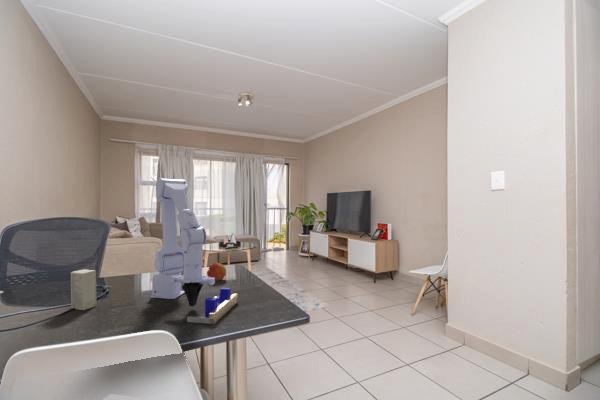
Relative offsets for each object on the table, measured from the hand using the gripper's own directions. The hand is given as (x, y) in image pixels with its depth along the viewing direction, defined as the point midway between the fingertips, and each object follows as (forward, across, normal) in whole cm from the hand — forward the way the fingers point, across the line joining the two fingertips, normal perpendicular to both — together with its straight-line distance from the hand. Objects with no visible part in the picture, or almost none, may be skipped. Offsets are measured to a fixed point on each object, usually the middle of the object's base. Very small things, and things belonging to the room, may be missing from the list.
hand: (192, 305), depth 92 cm
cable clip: (+2, +8, 0) cm, 8 cm away
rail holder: (+1, +8, 0) cm, 8 cm away
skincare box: (+2, -36, -5) cm, 37 cm away
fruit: (+2, -8, +33) cm, 34 cm away
